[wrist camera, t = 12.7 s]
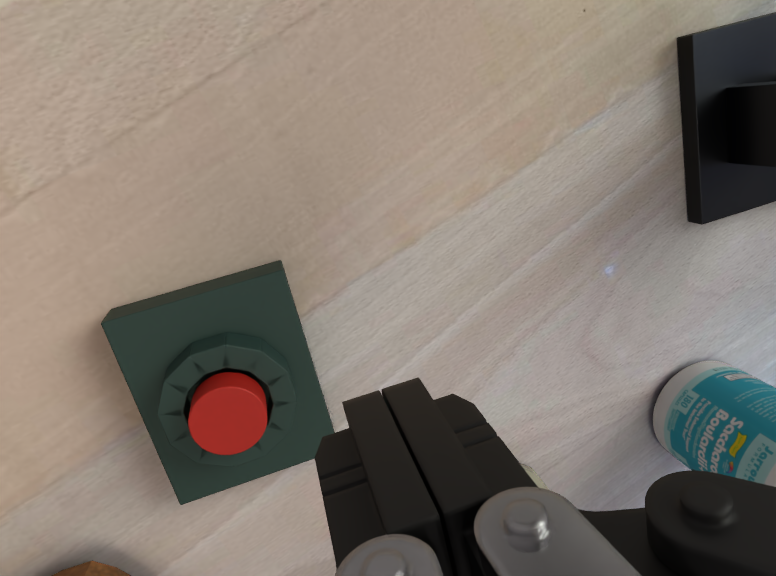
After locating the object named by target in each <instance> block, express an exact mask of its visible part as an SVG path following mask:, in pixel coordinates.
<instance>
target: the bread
mask: <svg viewBox="0 0 776 576" xmlns="http://www.w3.org/2000/svg"><path fill="white" fill-rule="evenodd" d="M52 576H130V575H129V574H127V573H125V572H124V571H122V570H120V569H118V568H116V567H113V566H109V565H106V564H102V563H98V562H95V561H89V562H86V563H83V564H80V565H77V566H74V567H71V568H68V569H64V570H62V571H60V572H58V573H56V574H54V575H52Z"/></svg>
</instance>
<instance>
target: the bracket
mask: <svg viewBox="0 0 776 576" xmlns="http://www.w3.org/2000/svg"><path fill="white" fill-rule="evenodd" d="M677 41H678V57H679V74H680V91H681V107H682V124H683V141H684V157H685V174H686V191H687V207H688V221H689V222H693V223H698V224H705V223H708V222H712V221H715V220H718V219H721V218H724V217H727V216H730V215H734V214H737V213H740V212H743V211H746V210H749V209H752V208H756V207H759V206H762V205H765V204H768V203H771V202H774V201H776V12H775V13H771V14H767V15H763V16H759V17H755V18H751V19H747V20H744V21H740V22H736V23H732V24H728V25H724V26H720V27H716V28H712V29H709V30H705V31H701V32H697V33H693V34H689V35H685V36H681V37H678V38H677Z"/></svg>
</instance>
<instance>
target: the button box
mask: <svg viewBox="0 0 776 576" xmlns="http://www.w3.org/2000/svg"><path fill="white" fill-rule="evenodd" d="M101 325H102V327H103V329H104V332H105V334H106V336H107V339H108V341H109V343H110V345H111V348H112V350H113V352H114V355H115V357H116V359H117V361H118V364H119V366H120V368H121V371H122V373H123V375H124V377H125V380H126V382H127V384H128V386H129V389H130V391H131V393H132V396H133V398H134V400H135V402H136V405H137V407H138V409H139V412H140V414H141V416H142V418H143V421H144V423H145V425H146V428H147V430H148V432H149V434H150V437H151V439H152V441H153V444H154V446H155V448H156V450H157V453H158V455H159V457H160V459H161V462H162V464H163V466H164V469H165V471H166V473H167V475H168V478H169V480H170V482H171V485H172V487H173V489H174V491H175V494H176V496H177V498H178V501H179V503H180V505H182V504H185V503H188V502H191V501H194V500H197V499H200V498H202V497H205V496H208V495H211V494H214V493H217V492H220V491H223V490H225V489H228V488H231V487H234V486H237V485H240V484H243V483H245V482H248V481H251V480H254V479H257V478H260V477H263V476H266V475H268V474H271V473H274V472H277V471H280V470H283V469H286V468H289V467H291V466H294V465H297V464H300V463H303V462H306V461H309V460H311V459H314V458H315V455H316V452H317V450H318V447H319V445H320V442H321V440H322V437H324V436H327V435H330V434H333V433H335V432H334V429H333V426H332V422H331V419H330V416H329V413H328V410H327V406H326V403H325V400H324V397H323V393H322V390H321V387H320V384H319V381H318V377H317V374H316V371H315V368H314V364H313V361H312V358H311V355H310V352H309V348H308V345H307V342H306V339H305V336H304V332H303V329H302V326H301V323H300V319H299V316H298V313H297V310H296V307H295V303H294V300H293V297H292V294H291V291H290V287H289V284H288V281H287V278H286V274H285V271H284V268H283V265H282V262H281V260H279V261H275V262H272V263H269V264H265V265H262V266H258V267H255V268H251V269H248V270H244V271H241V272H238V273H234V274H231V275H227V276H224V277H220V278H217V279H213V280H210V281H207V282H203V283H200V284H196V285H193V286H189V287H186V288H182V289H179V290H176V291H172V292H169V293H165V294H162V295H158V296H155V297H151V298H148V299H145V300H141V301H138V302H134V303H131V304H127V305H124V306H120V307H117V308H114V309H111V310H110V311H109V313H108V314H107V316H106V317H105V318H104V320H103V321H102V323H101ZM224 372H238V373H242V374H245V375H247V376H249V377H251V378H253V379H254V380H255V381H256V382H257V383H258V384H259V385H260V386H261V388H262V389H263V391H264V393H265V397H266V405H267V426H266V429H265V432H264V434H263V435H262V437H261V438H260V439H259V441H258V442H257V443H256V444H255V445H253V446H252V447H251V448H249V449H247V450H245V451H243V452H241V453H237V454H233V455H219V454H214V453H211V452H208V451H206V450H205V449H203V448H201V447H200V446H199V445H198V444H197V443H196V442H195V441H194V439H193V438H192V436H191V434H190V431H189V427H188V418H189V412H190V407H191V401H192V398H193V395H194V393H195V391H196V389H197V388H198V387H199V385H200V384H201V383H202V382H204V381H205V380H206V379H208V378H209V377H211V376H213V375H216V374H219V373H224Z"/></svg>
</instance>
